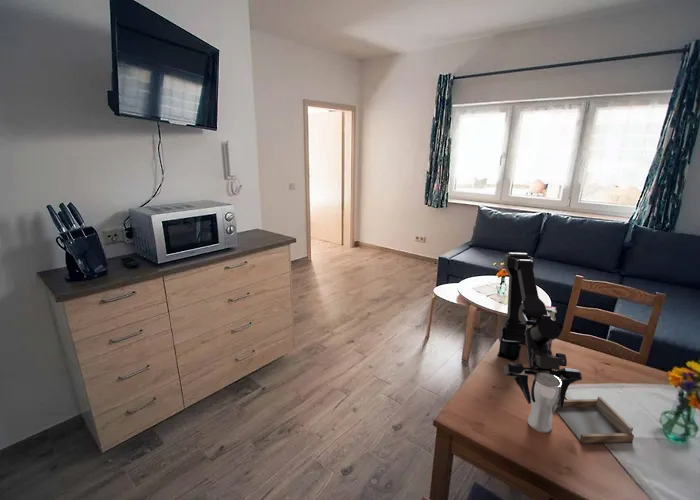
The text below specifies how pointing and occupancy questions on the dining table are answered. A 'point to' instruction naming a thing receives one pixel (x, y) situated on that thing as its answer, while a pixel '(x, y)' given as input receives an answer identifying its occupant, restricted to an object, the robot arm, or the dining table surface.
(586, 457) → the dining table surface
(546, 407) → the silver metal cup
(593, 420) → the wooden tray
